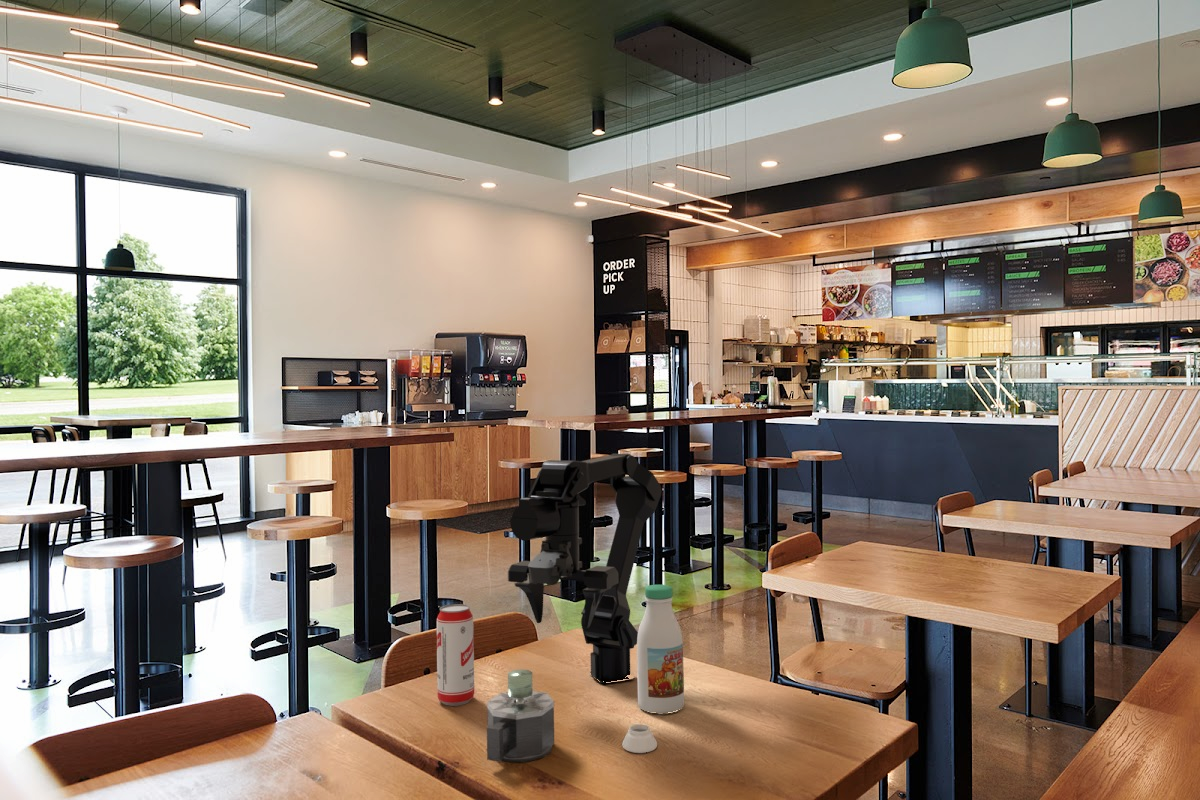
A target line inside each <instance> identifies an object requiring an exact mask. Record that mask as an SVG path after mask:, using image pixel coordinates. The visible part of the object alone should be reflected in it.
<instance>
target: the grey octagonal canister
mask: <svg viewBox="0 0 1200 800" xmlns="http://www.w3.org/2000/svg"><path fill="white" fill-rule="evenodd" d="M554 707H555V700H554V699H553V698H552V697H551V696H550V695H549V694H548V692H544V691H538V690H533V694H532V695H531V696H529V697H525V698H524V703H522V704H517V698H512V697H510V696H508V691H507V692H500V693H498V694H497V695H495V696H493V697H491V698H490V699H489V700H487V701H486V708H487V726H486V756H487V757H486V759H487V760H488V761H493V762H498V763H500V762H506V763H512V764H513V763H516V764H517V763H528V762H533V761H537V760H540V759H542V758H544V757H547V756H548V755H549V754H550V753H551V752H552V749H553V745H554V744H555V710H554V709H555V708H554Z"/></svg>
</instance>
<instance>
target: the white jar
mask: <svg viewBox="0 0 1200 800" xmlns="http://www.w3.org/2000/svg"><path fill="white" fill-rule="evenodd" d="M621 746H622V748H623V749H625V750H626V751H628V752H630V753H633V754H646V752H647V753H650V752H652V751H654V750H655V749H657V746H658V742H657V739H656V737H655V735H654V734H653V732H652V731H651V728H650V727H649V725H647V724H642V723H641V724H640V723H638V724H637V723H636V724H631V725H630V726H629V728H628V731H627V732H626V734H625V736H624V738H623V741H622V745H621Z"/></svg>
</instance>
